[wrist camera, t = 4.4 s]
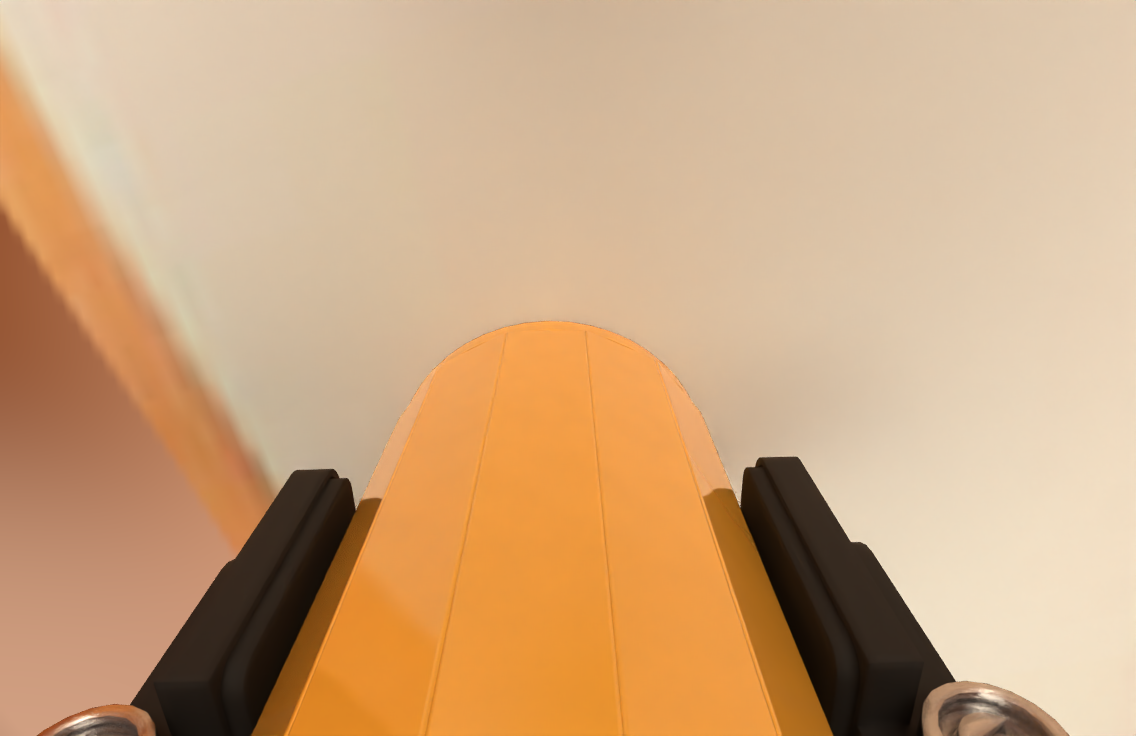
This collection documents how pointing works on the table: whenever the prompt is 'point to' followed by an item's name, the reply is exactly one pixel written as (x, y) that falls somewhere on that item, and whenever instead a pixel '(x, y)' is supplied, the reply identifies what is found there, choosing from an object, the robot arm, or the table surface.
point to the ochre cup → (546, 565)
